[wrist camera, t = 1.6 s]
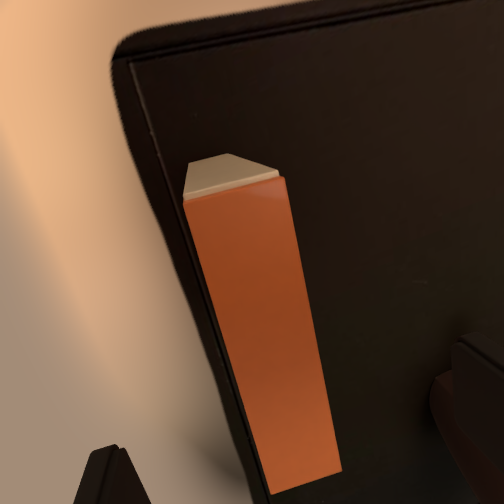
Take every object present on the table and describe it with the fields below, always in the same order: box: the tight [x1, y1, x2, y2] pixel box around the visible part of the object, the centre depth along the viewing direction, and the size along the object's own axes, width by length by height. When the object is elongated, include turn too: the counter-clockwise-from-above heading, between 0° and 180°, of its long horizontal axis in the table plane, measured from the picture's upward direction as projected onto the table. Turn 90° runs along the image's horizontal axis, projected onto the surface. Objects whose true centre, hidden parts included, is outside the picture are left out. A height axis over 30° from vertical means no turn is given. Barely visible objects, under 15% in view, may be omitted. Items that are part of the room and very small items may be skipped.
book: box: [183, 153, 342, 494], centre depth 19 cm, size 3×12×16 cm, turn 13°
